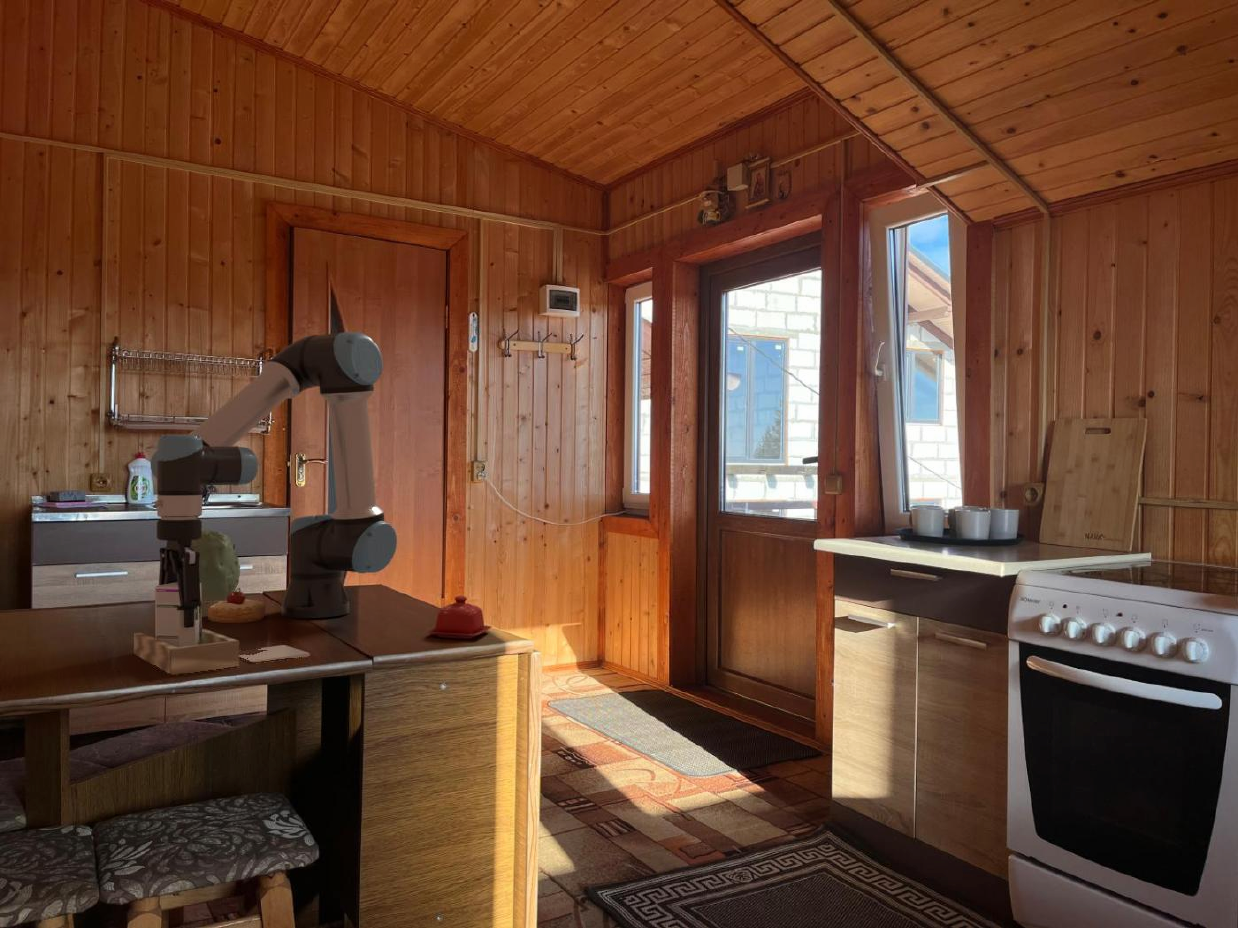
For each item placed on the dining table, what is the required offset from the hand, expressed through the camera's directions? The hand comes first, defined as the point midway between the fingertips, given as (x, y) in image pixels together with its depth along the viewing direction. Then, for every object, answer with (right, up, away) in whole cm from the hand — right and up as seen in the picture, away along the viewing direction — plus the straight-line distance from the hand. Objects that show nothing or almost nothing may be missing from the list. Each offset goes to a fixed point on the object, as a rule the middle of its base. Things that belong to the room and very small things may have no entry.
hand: (178, 641), depth 174 cm
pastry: (-5, -4, +38) cm, 38 cm away
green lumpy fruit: (-23, -4, +65) cm, 69 cm away
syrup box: (0, -4, 0) cm, 4 cm away
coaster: (+15, -4, +5) cm, 16 cm away
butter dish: (+47, -4, +30) cm, 56 cm away
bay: (+2, -4, -2) cm, 5 cm away
